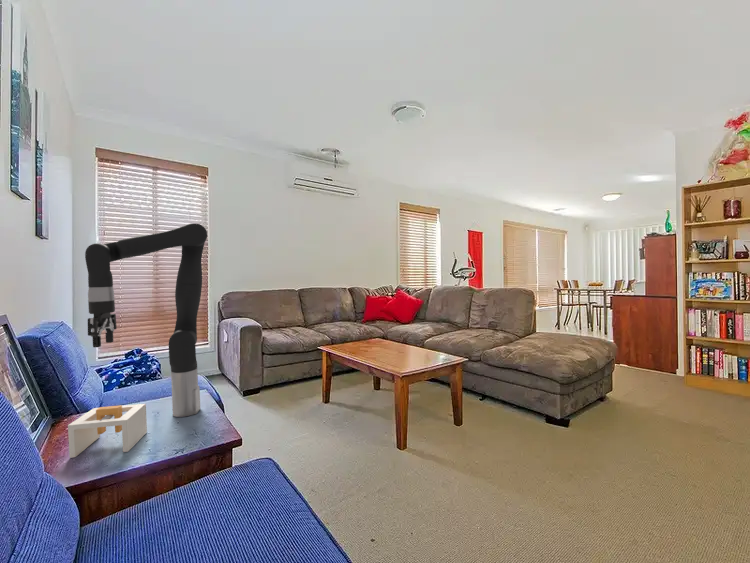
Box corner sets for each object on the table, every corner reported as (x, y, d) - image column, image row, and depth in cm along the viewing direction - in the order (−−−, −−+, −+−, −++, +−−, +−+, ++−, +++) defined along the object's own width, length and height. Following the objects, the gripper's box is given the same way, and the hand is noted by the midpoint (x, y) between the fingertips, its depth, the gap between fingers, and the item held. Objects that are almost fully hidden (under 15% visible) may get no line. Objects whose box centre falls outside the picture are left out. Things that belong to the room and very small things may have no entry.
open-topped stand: (147, 431, 127) (145, 403, 127) (128, 451, 113) (126, 419, 113) (95, 437, 124) (93, 408, 123) (69, 457, 110) (67, 425, 110)
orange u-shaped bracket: (123, 429, 120) (121, 405, 120) (119, 432, 118) (117, 408, 117) (102, 431, 119) (100, 407, 119) (97, 434, 117) (95, 409, 116)
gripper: (102, 301, 124) (104, 348, 124) (122, 297, 138) (124, 340, 138) (77, 301, 122) (79, 349, 123) (100, 298, 136) (102, 341, 137)
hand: (103, 344), depth 131 cm, fingers open, 8 cm apart
